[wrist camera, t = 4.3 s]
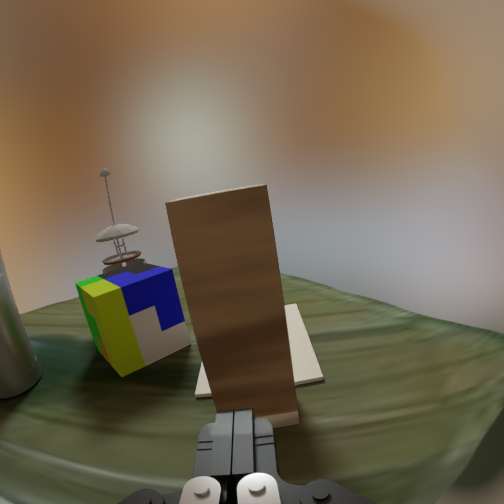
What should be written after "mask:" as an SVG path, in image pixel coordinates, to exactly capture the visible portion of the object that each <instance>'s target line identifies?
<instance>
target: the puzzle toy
mask: <svg viewBox="0 0 504 504" xmlns="http://www.w3.org/2000/svg"><path fill="white" fill-rule="evenodd" d="M75 284H76V287H77V290H78V294H79V297H80V300H81V304H82V307H83V310H84V313H85V316H86V319H87V322H88V325H89V328H90V330H91V333H92V336H93V339H94V341H95V344H96V347H97V349H98V351H99V352H100V353H101V354H102V355H103V357H104V358H105V359H106V360H107V361H108V362H109V363H110V365H111V366H112V367H113V368H114V369H115V370H116V371H117V372H118V374H119V375H120V376H121V377H124V376H126V375H128V374H130V373H132V372H134V371H136V370H139V369H141V368H143V367H145V366H147V365H149V364H151V363H153V362H155V361H157V360H160V359H162V358H164V357H166V356H168V355H170V354H172V353H174V352H176V351H178V350H180V349H182V348H184V347H186V346H188V345H190V344H191V342H190V338H189V335H188V331H187V327H186V323H185V319H184V316H183V312H182V308H181V304H180V300H179V296H178V292H177V288H176V283H175V279H174V275H173V271H172V269H169V268H165V267H160V266H155V265H151V264H147V263H142V262H137V263H134V264H131V265H128V266H125V267H122V268H119V269H116V270H113V271H110V272H107V273H104V274H101V275H98V276H95V277H92V278H89V279H87V280H83V281H80V282H78V283H75Z"/></svg>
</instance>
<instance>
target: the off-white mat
mask: <svg viewBox="0 0 504 504" xmlns="http://www.w3.org/2000/svg"><path fill="white" fill-rule="evenodd" d="M285 313H286V321H287V328H288V336H289V343H290V351H291V359H292V367H293V375H294V383H295V385H299V384H305V383H310V382H315V381H320V380H323V375H322V372H321V369H320V367H319V364H318V361H317V358H316V356H315V353H314V350H313V348H312V345H311V342H310V340H309V337H308V334H307V332H306V329H305V326H304V324H303V321H302V318H301V316H300V313H299V310H298V308H297V305H296V304H291V305H285ZM195 396H196V398H197V397H209V396H212V394H211V390H210V387H209V383H208V380H207V377H206V373H205V370H204V366H203V363H202V364H201V369H200V373H199V378H198V382H197V387H196V391H195Z"/></svg>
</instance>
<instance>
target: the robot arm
mask: <svg viewBox="0 0 504 504" xmlns="http://www.w3.org/2000/svg"><path fill="white" fill-rule="evenodd" d="M41 375H42V369H41V367H40V364H39V362H38V359H37V357H36V355H35V353H34V351H33V348H32V346H31V343H30V341H29V338H28V336H27V333H26V331H25V328H24V325H23V323H22V320H21V317H20V314H19V312H18V309H17V306H16V303H15V300H14V297H13V294H12V290H11V287H10V284H9V281H8V277H7V273H6V271H5V266H4V263H3V259H2V255H1V251H0V398H10V397H13V396H16V395H19V394H21V393H23V392H25V391H26V390H28V389H30V388H31V387H32V386H33V385H35V383H36V382H37V381H38V380H39V379H40V377H41ZM118 504H376V503H374V502H372V501H370V500H368V499H366V498H364V497H362V496H360V495H358V494H356V493H354V492H352V491H351V490H349V489H347V488H345V487H343V486H341V485H340V484H338V483H336V482H334V481H332V480H328V479H318V480H314V481H311V482H309V483H308V484H306V485H305V486H303V485H293V484H289V483H287V482H285V481H283V480H282V479H281V478H280V477H279V468H278V458H277V449H276V443H275V438H274V433H273V427H272V424H271V423H270V422H269V421H268V419H267V418H260V419H255V415H254V411H253V408H245V409H236V410H227V411H217V412H216V419H215V423H210V424H205V426H204V427H203V428H202V430H201V431H200V433H199V440H198V446H197V452H196V458H195V465H194V471H193V477H192V479H191V480H190V481H188V482H187V483H186V484H185V486H184V488H183V489H182V490H180V491H178V492H174V493H170V494H165V495H160V494H159V493H158V492H157V491H155V490H152V489H141V490H138V491H136V492H134V493H133V494H131V495H130V496H128V497H127V498H125V499H124V500H123V501H121V502H120V503H118Z"/></svg>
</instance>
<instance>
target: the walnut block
mask: <svg viewBox="0 0 504 504" xmlns="http://www.w3.org/2000/svg"><path fill="white" fill-rule="evenodd" d="M166 209H167V214H168V219H169V224H170V229H171V234H172V239H173V244H174V248H175V253H176V258H177V263H178V267H179V272H180V276H181V280H182V285H183V289H184V293H185V297H186V301H187V305H188V310H189V314H190V318H191V321H192V325H193V329H194V333H195V337H196V341H197V344H198V348H199V352H200V355H201V359H202V363H203V366H204V370H205V373H206V377H207V380H208V383H209V387H210V390H211V394H212V397H213V400H214V403H215V407H216V410H217V411H227V410H236V409H245V408H253V411H254V415H255V419H260V418H267V419H268V421H269V422H270V423H271V424H272V427H273V428H277V427H283V426H290V425H296V424H299V417H298V408H297V400H296V391H295V383H294V375H293V367H292V359H291V351H290V343H289V336H288V328H287V321H286V313H285V306H284V299H283V291H282V284H281V277H280V270H279V263H278V257H277V250H276V243H275V236H274V230H273V223H272V217H271V210H270V204H269V197H268V191H267V185H265V184H258V185H251V186H245V187H239V188H233V189H227V190H222V191H216V192H210V193H205V194H199V195H195V196H189V197H184V198H180V199H176V200H173V201H170V202H167V203H166Z"/></svg>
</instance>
